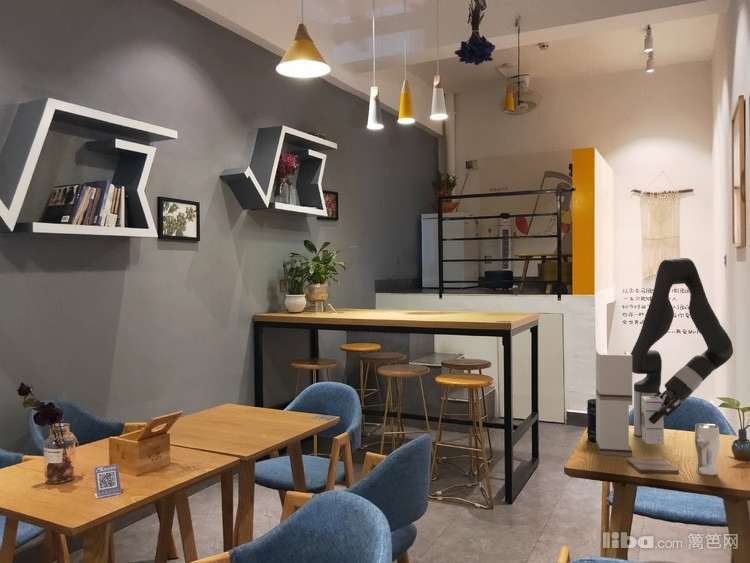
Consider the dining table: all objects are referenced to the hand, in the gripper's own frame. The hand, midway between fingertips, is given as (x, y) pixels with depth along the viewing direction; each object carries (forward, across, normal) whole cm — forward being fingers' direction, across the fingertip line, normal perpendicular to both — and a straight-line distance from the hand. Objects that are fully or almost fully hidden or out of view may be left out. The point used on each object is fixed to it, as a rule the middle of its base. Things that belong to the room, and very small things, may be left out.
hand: (647, 419), depth 202 cm
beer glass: (0, +5, +23) cm, 24 cm away
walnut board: (+10, 0, +12) cm, 16 cm away
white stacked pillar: (+14, -19, +8) cm, 25 cm away
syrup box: (+4, 0, +7) cm, 8 cm away
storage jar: (+15, -32, +8) cm, 36 cm away
